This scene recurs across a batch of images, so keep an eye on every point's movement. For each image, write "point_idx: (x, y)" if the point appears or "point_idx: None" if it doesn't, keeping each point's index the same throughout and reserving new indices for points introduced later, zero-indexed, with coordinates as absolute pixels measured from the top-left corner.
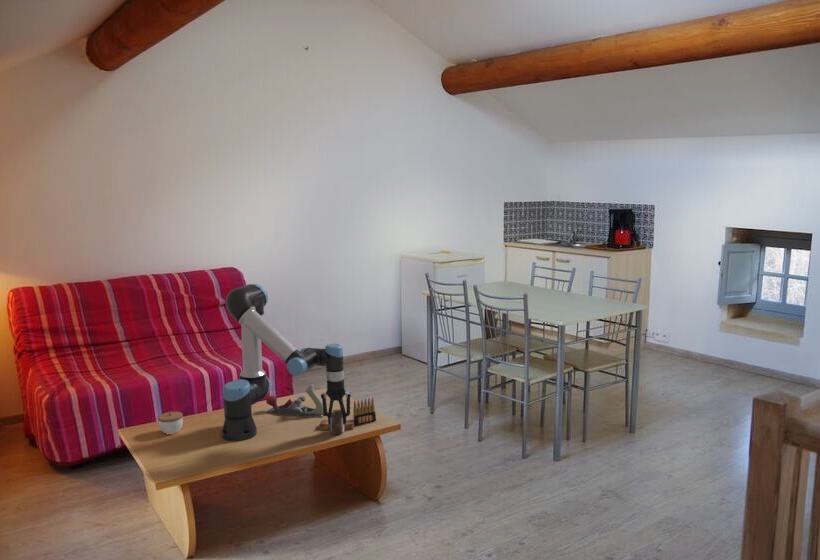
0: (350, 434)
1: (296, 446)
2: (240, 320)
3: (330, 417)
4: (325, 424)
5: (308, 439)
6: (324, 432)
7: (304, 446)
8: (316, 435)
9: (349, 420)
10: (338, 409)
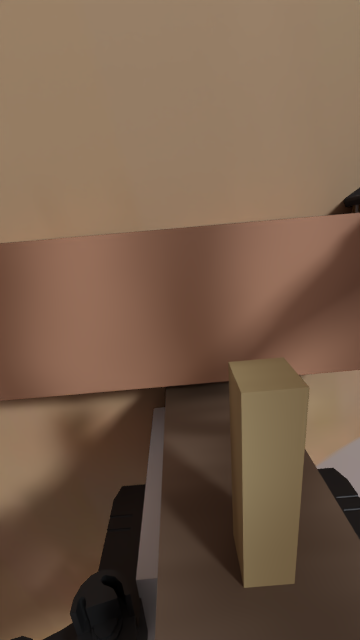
0: (328, 445)
1: (7, 632)
2: None
3: (144, 625)
4: (57, 394)
5: (28, 550)
6: (94, 428)
7: (57, 627)
8: (53, 487)
9: (339, 244)
10: (247, 433)
